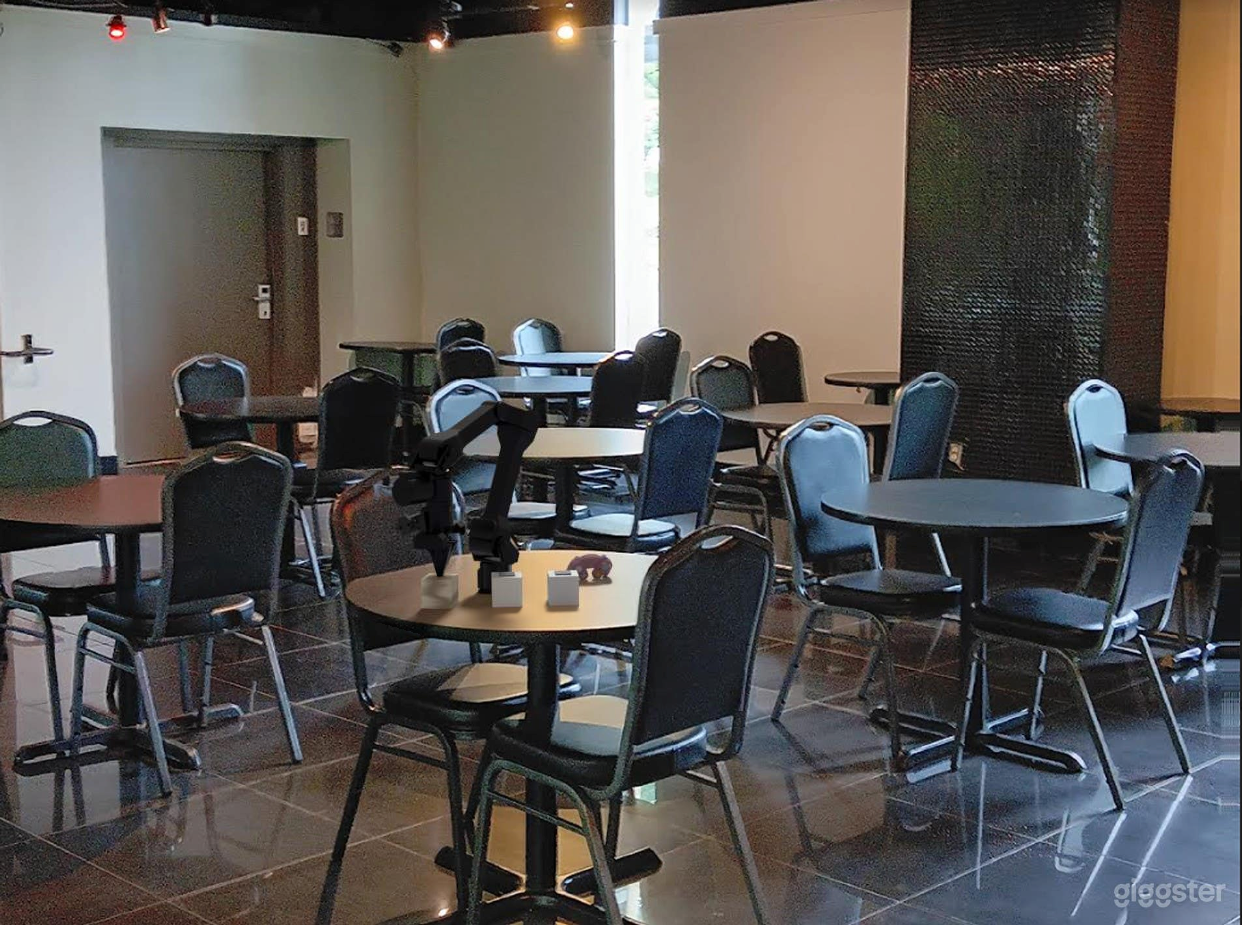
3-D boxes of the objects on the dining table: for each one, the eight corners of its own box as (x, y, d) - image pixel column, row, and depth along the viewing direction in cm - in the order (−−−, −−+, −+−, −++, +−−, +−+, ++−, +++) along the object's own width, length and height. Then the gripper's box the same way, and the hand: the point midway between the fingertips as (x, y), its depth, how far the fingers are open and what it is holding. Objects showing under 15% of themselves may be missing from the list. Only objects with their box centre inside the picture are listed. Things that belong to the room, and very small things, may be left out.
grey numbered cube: (576, 598, 316) (576, 568, 315) (579, 605, 310) (578, 574, 309) (547, 599, 315) (547, 569, 314) (549, 606, 309) (549, 575, 308)
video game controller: (568, 588, 333) (572, 562, 330) (563, 575, 337) (567, 549, 333) (612, 585, 336) (616, 559, 332) (606, 572, 340) (610, 547, 336)
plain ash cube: (458, 602, 312) (458, 573, 311) (450, 609, 306) (450, 579, 305) (429, 602, 313) (429, 573, 312) (421, 608, 307) (421, 579, 306)
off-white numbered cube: (521, 600, 314) (520, 570, 314) (522, 606, 308) (522, 576, 308) (491, 601, 314) (491, 570, 313) (492, 607, 308) (492, 576, 307)
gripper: (412, 492, 317) (414, 566, 319) (385, 506, 299) (387, 585, 301) (465, 493, 316) (466, 568, 318) (441, 507, 297) (442, 586, 299)
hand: (440, 576), depth 309 cm, fingers closed, pressing on plain ash cube
